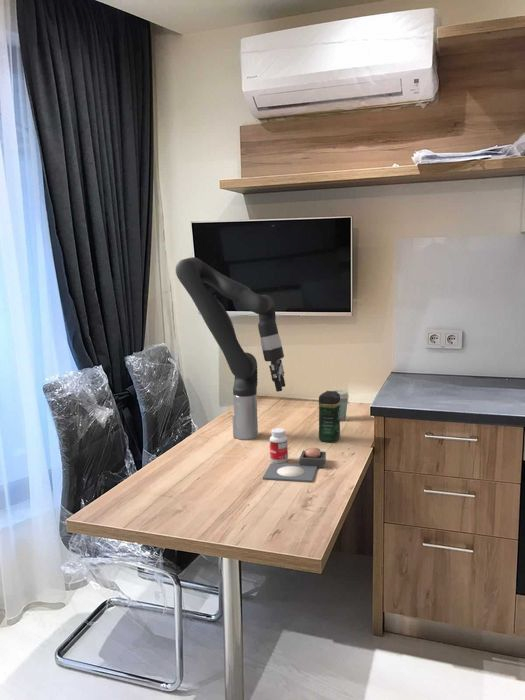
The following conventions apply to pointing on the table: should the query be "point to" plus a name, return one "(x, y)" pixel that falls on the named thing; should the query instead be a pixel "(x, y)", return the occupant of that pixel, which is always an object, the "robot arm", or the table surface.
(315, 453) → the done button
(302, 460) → the button housing
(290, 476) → the grey rectangular pad
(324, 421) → the coffee jar
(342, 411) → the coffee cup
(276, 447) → the pill bottle
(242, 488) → the table surface
